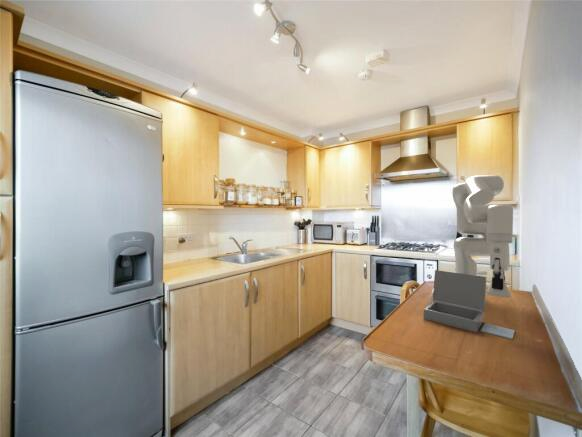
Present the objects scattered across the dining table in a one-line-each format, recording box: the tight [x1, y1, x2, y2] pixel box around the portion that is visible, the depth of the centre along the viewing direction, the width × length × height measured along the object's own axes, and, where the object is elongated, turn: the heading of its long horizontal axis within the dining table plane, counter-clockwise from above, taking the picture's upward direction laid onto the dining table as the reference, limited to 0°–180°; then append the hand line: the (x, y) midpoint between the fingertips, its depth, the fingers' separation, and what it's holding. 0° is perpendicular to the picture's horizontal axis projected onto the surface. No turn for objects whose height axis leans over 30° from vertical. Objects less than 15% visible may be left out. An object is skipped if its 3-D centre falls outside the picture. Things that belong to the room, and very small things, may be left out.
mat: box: [480, 323, 516, 340], centre depth 97 cm, size 9×9×1 cm
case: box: [423, 300, 484, 333], centre depth 108 cm, size 15×18×5 cm
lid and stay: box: [427, 269, 487, 313], centre depth 112 cm, size 9×19×15 cm, turn 46°
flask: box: [486, 268, 512, 298], centre depth 97 cm, size 7×7×10 cm
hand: (498, 287), depth 97 cm, fingers closed on flask, 4 cm apart
